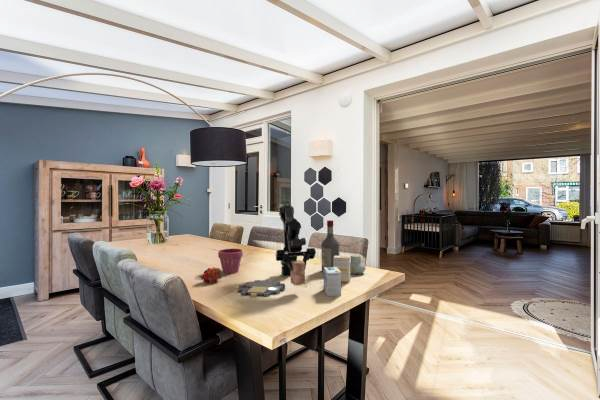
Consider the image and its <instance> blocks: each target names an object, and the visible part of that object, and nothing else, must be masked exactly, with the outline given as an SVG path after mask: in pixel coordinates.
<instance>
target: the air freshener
mask: <svg viewBox="0 0 600 400" xmlns="http://www.w3.org/2000/svg"><path fill="white" fill-rule="evenodd" d="M366 269H367V268H366V265H365V263H362V256H361V255H360V254H351V255H350V274H352V275H360V274H363V273H364V272H366Z"/></svg>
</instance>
